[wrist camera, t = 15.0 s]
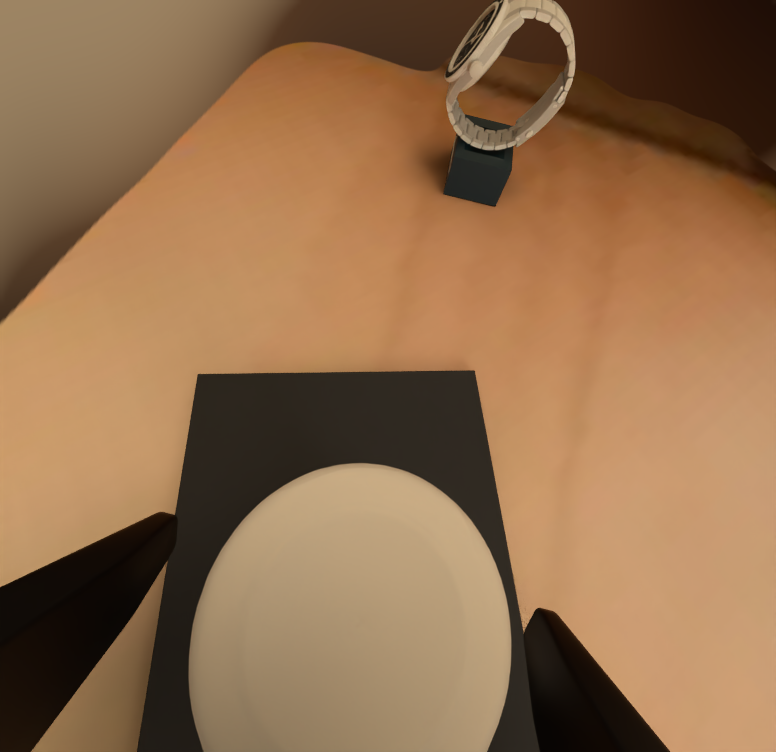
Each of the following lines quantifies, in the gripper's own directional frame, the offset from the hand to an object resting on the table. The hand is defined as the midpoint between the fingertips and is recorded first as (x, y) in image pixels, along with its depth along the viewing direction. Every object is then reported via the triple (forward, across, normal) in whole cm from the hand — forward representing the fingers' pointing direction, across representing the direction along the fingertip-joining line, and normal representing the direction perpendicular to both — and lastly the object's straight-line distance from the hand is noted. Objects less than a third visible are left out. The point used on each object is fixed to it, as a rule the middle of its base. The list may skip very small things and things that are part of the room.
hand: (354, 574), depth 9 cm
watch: (+28, -2, -14) cm, 31 cm away
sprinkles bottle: (+6, 0, +7) cm, 9 cm away
